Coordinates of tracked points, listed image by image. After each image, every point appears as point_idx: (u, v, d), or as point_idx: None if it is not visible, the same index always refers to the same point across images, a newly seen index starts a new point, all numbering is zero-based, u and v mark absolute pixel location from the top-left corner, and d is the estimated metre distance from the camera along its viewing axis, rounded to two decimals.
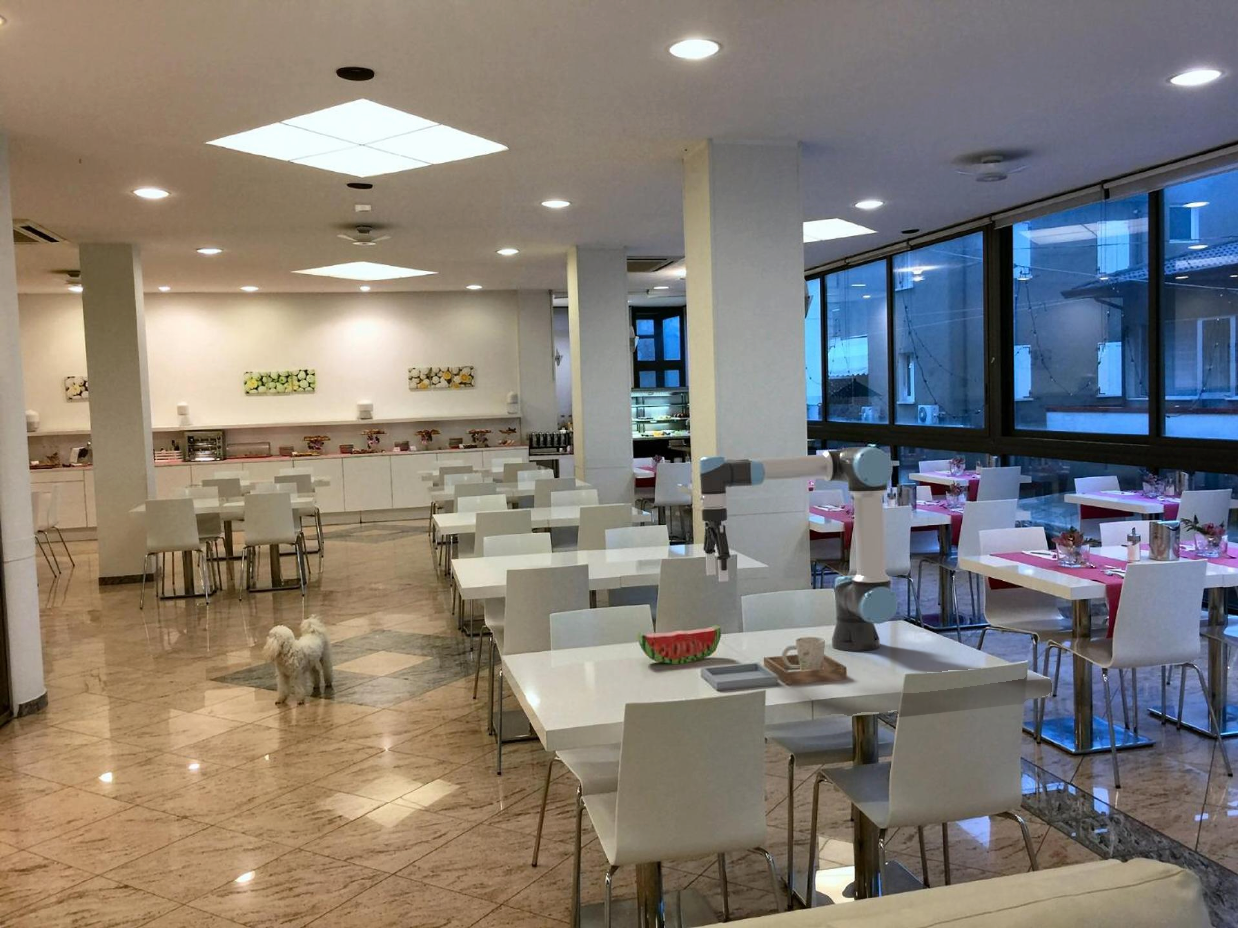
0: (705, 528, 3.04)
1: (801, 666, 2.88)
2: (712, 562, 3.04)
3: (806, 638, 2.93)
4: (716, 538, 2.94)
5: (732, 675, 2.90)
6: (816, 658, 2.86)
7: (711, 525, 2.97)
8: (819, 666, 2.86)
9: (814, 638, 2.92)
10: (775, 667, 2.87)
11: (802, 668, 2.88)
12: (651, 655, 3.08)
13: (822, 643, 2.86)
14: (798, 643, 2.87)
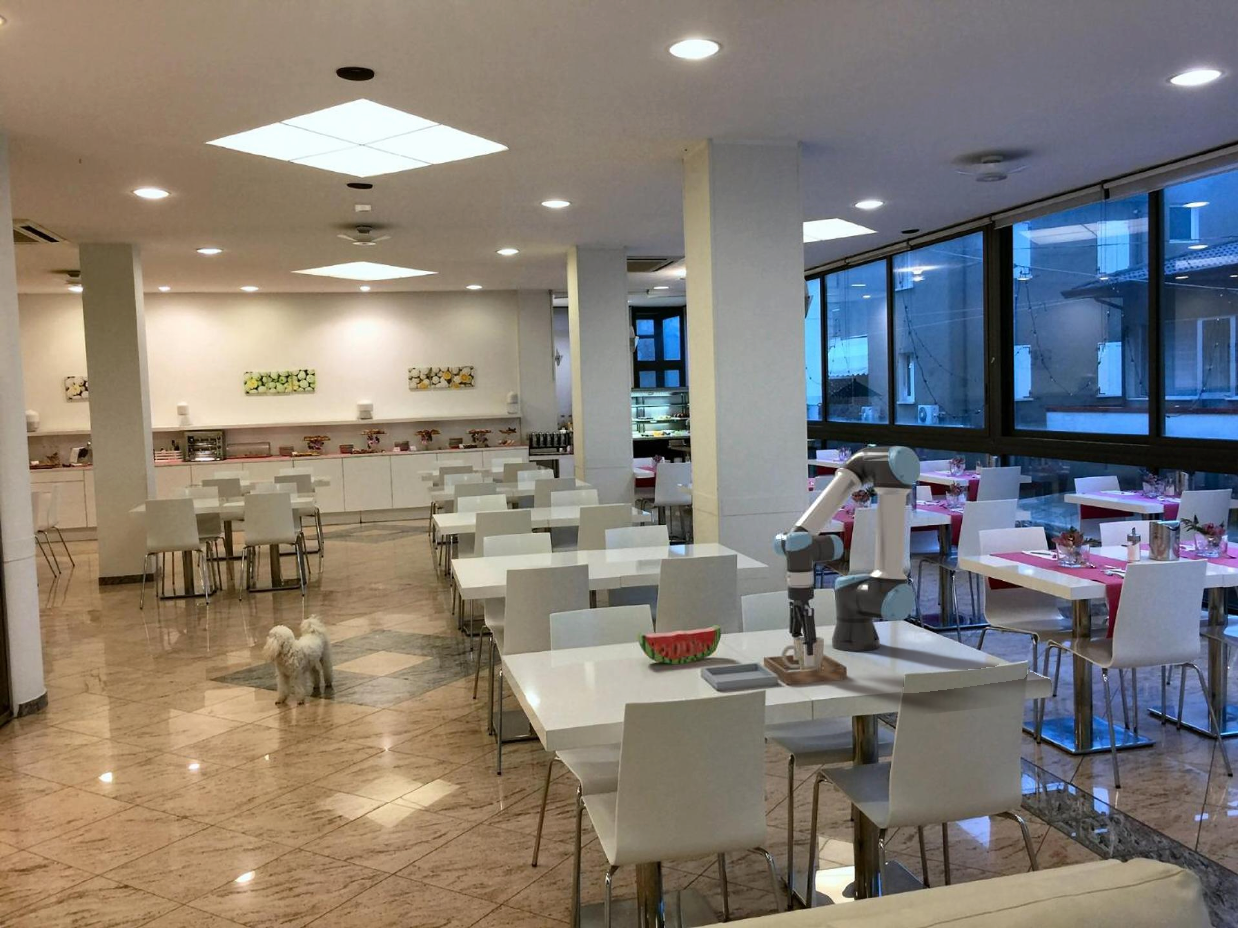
0: (790, 608, 2.95)
1: (801, 665, 2.88)
2: None
3: None
4: (803, 619, 2.86)
5: (732, 675, 2.90)
6: (815, 656, 2.86)
7: (797, 603, 2.89)
8: (819, 664, 2.87)
9: None
10: (775, 667, 2.87)
11: (802, 667, 2.88)
12: (651, 655, 3.08)
13: (821, 641, 2.87)
14: (797, 642, 2.88)
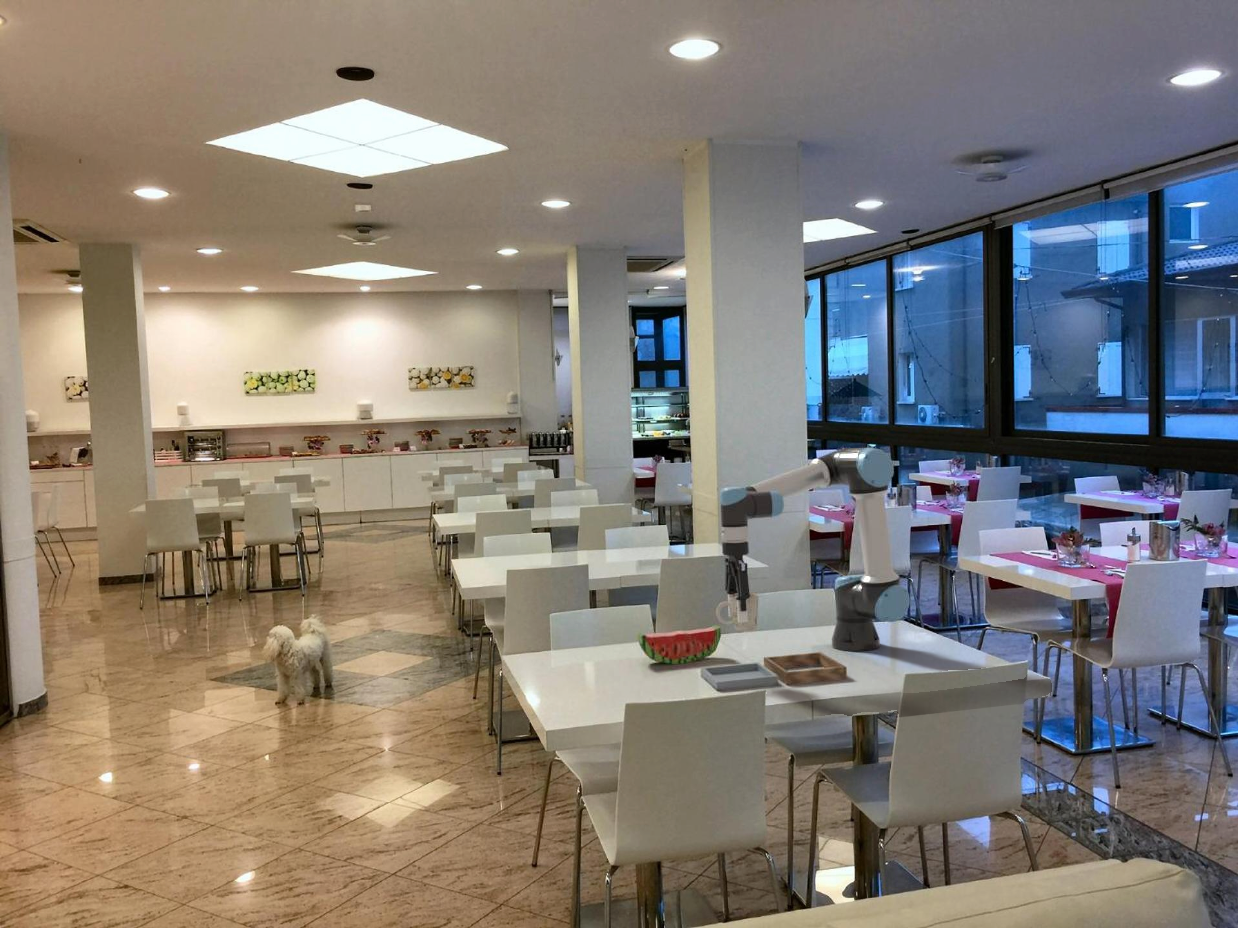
0: (725, 565, 2.91)
1: (735, 622, 2.84)
2: None
3: None
4: (736, 575, 2.82)
5: (732, 675, 2.90)
6: (749, 613, 2.82)
7: (732, 559, 2.85)
8: (753, 621, 2.83)
9: None
10: (775, 667, 2.87)
11: (736, 623, 2.84)
12: (651, 655, 3.08)
13: (755, 597, 2.83)
14: (731, 598, 2.84)
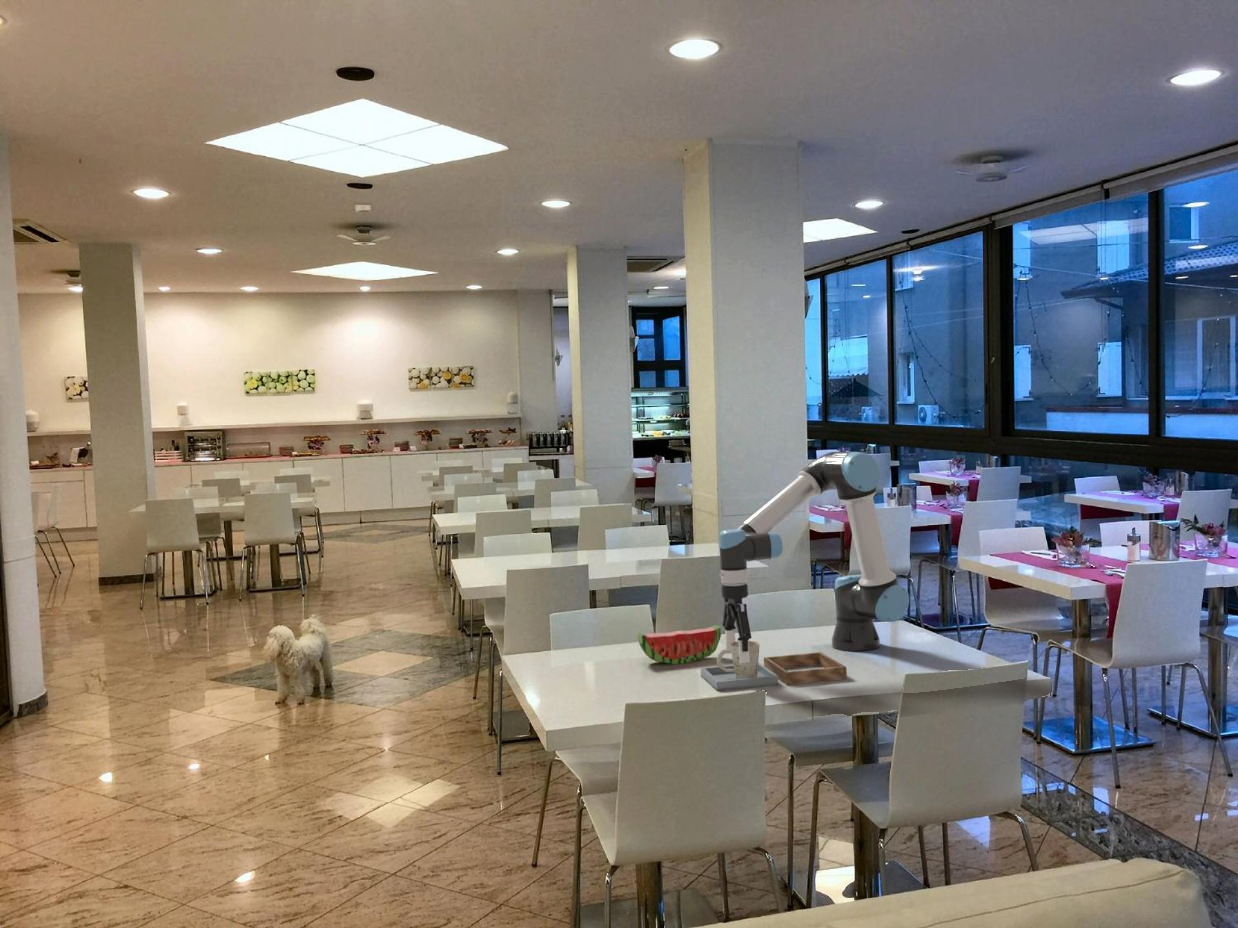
0: (724, 603, 2.92)
1: (735, 670, 2.85)
2: (732, 639, 2.92)
3: None
4: (736, 616, 2.81)
5: (732, 675, 2.90)
6: (750, 662, 2.82)
7: (731, 602, 2.85)
8: (753, 670, 2.83)
9: (749, 642, 2.89)
10: (775, 667, 2.87)
11: (736, 672, 2.84)
12: (651, 655, 3.08)
13: (756, 647, 2.83)
14: (732, 647, 2.84)
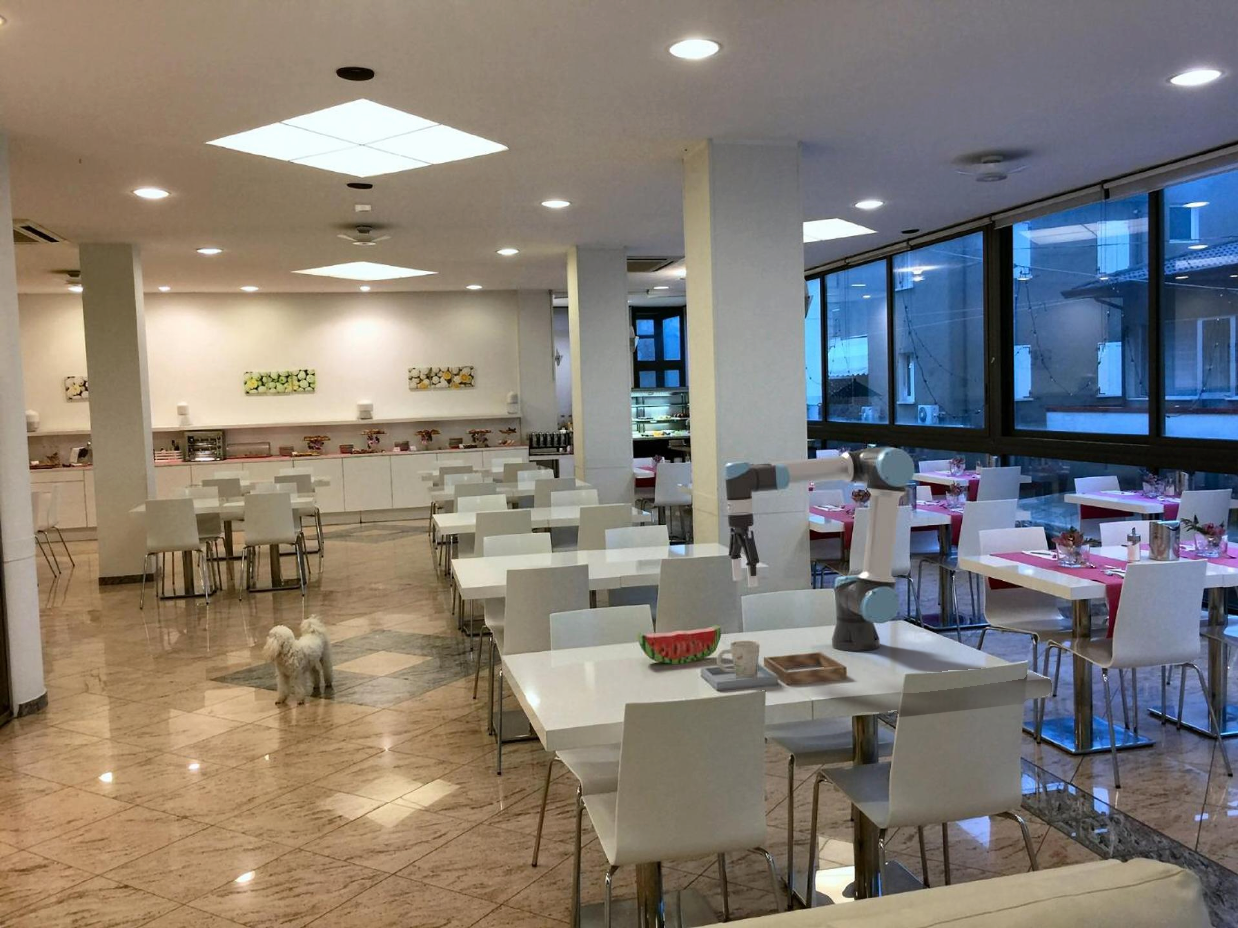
0: None
1: (735, 670, 2.85)
2: (738, 567, 3.04)
3: (741, 642, 2.89)
4: (744, 544, 2.93)
5: (732, 675, 2.90)
6: (750, 662, 2.82)
7: (738, 531, 2.97)
8: (753, 670, 2.83)
9: (749, 642, 2.89)
10: (775, 667, 2.87)
11: (736, 672, 2.84)
12: (651, 655, 3.08)
13: (756, 647, 2.83)
14: (732, 647, 2.84)
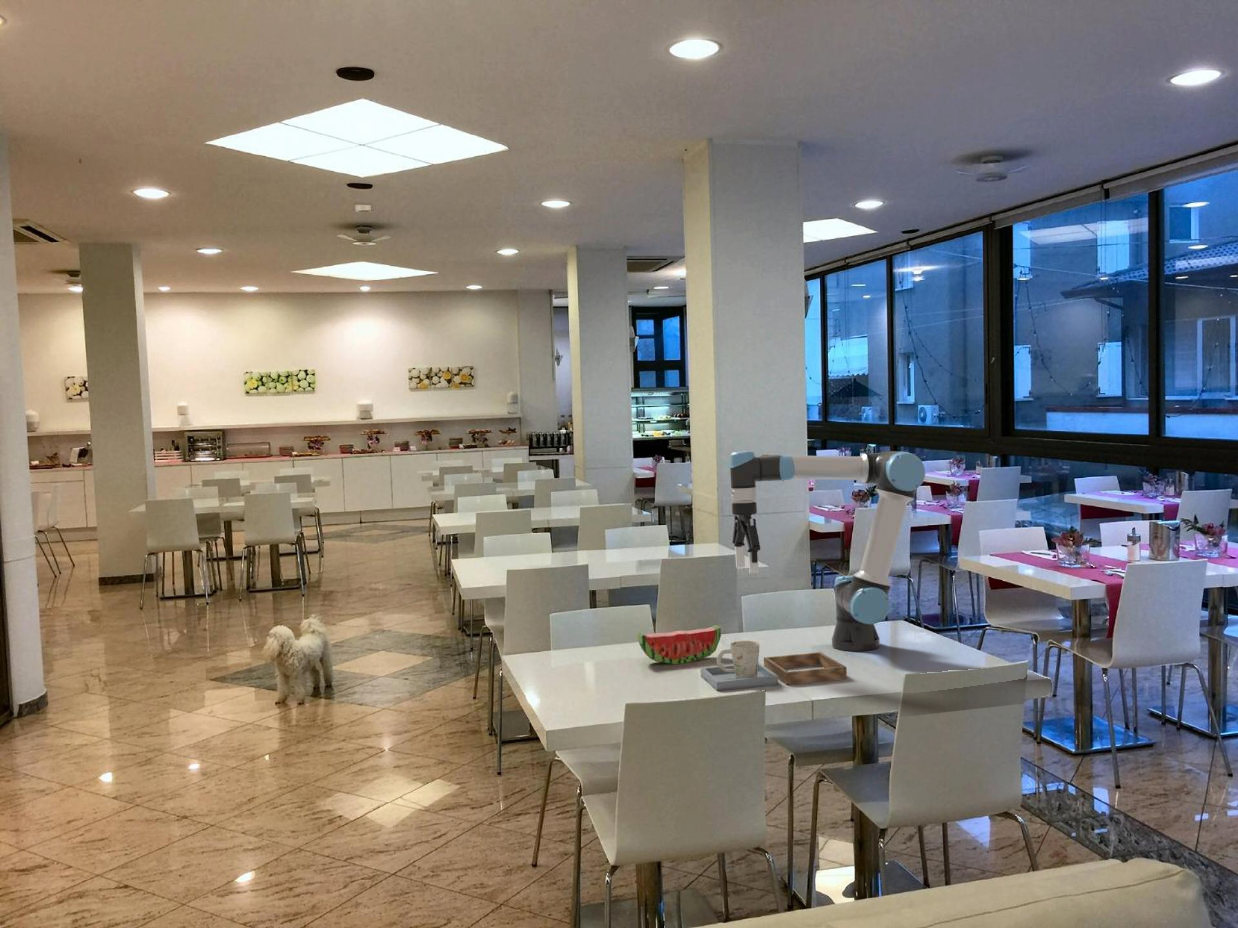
0: None
1: (735, 670, 2.85)
2: (741, 555, 3.12)
3: (741, 642, 2.89)
4: (746, 531, 3.01)
5: (732, 675, 2.90)
6: (750, 662, 2.82)
7: (741, 518, 3.05)
8: (753, 670, 2.83)
9: (749, 642, 2.89)
10: (775, 667, 2.87)
11: (736, 672, 2.84)
12: (651, 655, 3.08)
13: (756, 647, 2.83)
14: (732, 647, 2.84)
